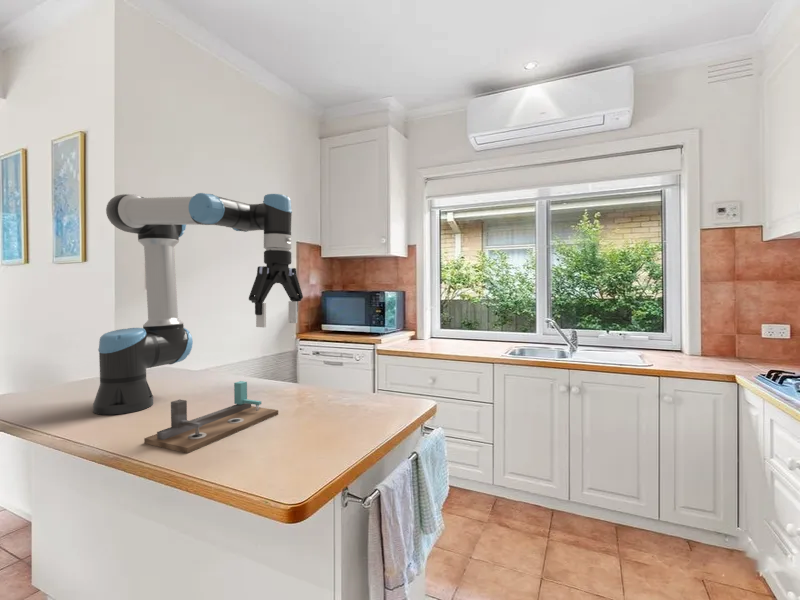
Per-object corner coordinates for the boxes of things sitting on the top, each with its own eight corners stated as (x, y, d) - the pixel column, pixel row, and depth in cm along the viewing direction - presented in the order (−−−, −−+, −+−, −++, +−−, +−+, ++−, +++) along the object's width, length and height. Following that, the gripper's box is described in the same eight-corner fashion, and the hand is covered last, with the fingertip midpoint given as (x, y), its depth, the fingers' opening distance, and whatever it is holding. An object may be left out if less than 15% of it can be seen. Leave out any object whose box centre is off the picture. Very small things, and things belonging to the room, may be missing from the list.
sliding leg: (234, 408, 118) (234, 382, 118) (240, 406, 120) (240, 381, 120) (257, 412, 115) (256, 385, 115) (263, 409, 117) (262, 383, 117)
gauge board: (144, 443, 97) (143, 405, 96) (240, 408, 124) (240, 379, 124) (187, 453, 91) (187, 413, 91) (278, 414, 119) (278, 383, 118)
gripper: (256, 246, 105) (256, 329, 106) (314, 253, 128) (314, 322, 129) (234, 246, 108) (234, 328, 109) (294, 253, 131) (294, 320, 132)
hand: (277, 325), depth 119 cm, fingers open, 13 cm apart
